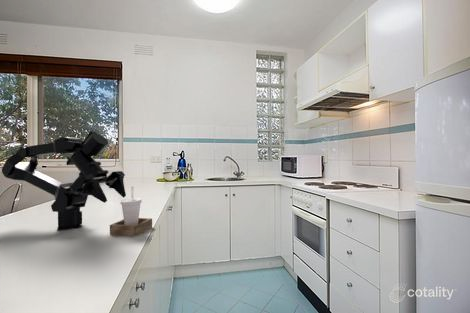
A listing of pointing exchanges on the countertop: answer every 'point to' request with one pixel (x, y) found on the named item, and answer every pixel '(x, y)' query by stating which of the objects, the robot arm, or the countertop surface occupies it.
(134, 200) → the smoothie
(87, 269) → the countertop surface
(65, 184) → the robot arm
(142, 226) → the socket block
